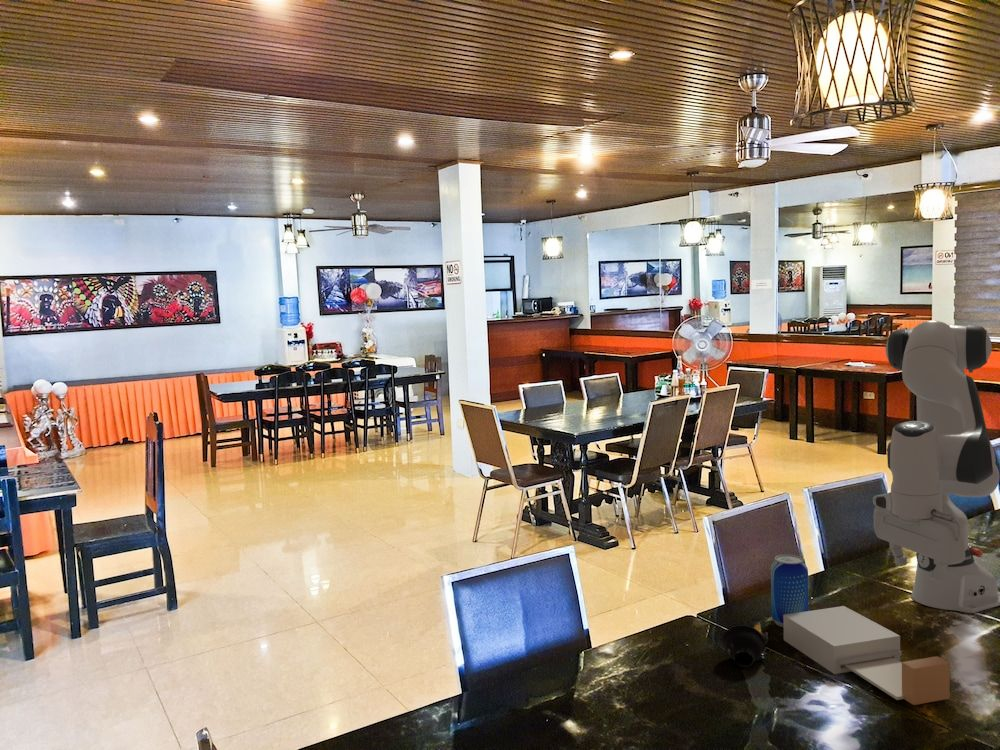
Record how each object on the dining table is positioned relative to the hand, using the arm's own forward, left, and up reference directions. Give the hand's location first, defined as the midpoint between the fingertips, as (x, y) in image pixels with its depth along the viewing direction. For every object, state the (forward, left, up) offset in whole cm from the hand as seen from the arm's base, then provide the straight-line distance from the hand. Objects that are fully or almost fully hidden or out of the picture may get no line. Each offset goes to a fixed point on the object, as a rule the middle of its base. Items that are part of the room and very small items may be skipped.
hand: (918, 572), depth 155 cm
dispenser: (+5, -17, -23) cm, 29 cm away
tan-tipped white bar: (+5, -2, -21) cm, 22 cm away
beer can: (+6, -34, -23) cm, 42 cm away
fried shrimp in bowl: (+25, -22, -23) cm, 40 cm away
